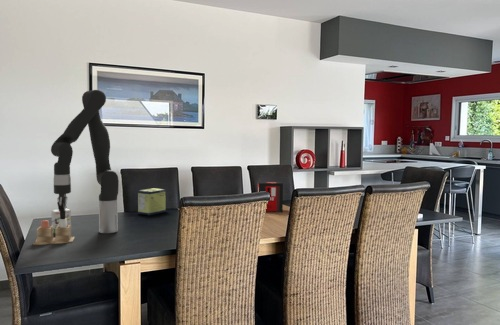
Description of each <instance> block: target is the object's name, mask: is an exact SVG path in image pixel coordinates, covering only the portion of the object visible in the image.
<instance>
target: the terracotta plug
mask: <svg viewBox="0 0 500 325" xmlns="http://www.w3.org/2000/svg"><path fill="white" fill-rule="evenodd" d="M49 226H50V222H49V219H48V220H47V219H44V220H41V221H40V227H41V229H48V228H49Z"/></svg>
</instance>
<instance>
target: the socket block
mask: <svg viewBox="0 0 500 325" xmlns="http://www.w3.org/2000/svg"><path fill="white" fill-rule="evenodd" d="M54 235H55V237H54ZM75 239H76V237H75V236H72V224H71V225H67V228H60V226H57V227H56V228H55V233H53V226H52V225H49V228H48V229H41V226H38V228H37V229H36V240H35V241H34V242H33V243H32V246H39V245H40V246H42V245H54V244H55V245H57V244H73V242H74V240H75Z"/></svg>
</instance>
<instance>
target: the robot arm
mask: <svg viewBox="0 0 500 325" xmlns="http://www.w3.org/2000/svg"><path fill="white" fill-rule="evenodd" d="M81 98H82V99H81V103H82V106H83V109H82V110H81V111H80V112H79V113H78V114H77V115H76V116H74V118H73V119H71V121H70V122H69V123H68V125H67V127H66V128H65V130H64V131H63V133H62V134H61V135H60V136H59V137H58V138H56V140H55V141H54V142H53V143H52V145H51V147H50V152H51V154H52V155H53V156H54V157H58V158H57V162H55V163H54V165H53V194H54V195H58V197H57V207H58V209H59V211H60V219H65V218H66V213H65V211H66V209H68V208H67V206H68V199H69V198H68V196H67V195H68V194H70V193H71V192H72V184H71V181H72V180H71V163H72V158H73V154H74V151H73V147H72V145H71V144H73V143H76V142H77V141H78V139H79V138H80V136H81V135H82V133H83V131H84V130H85V128H86V127H88V131H89V137H90V143H91V149H92V152H93V153H92V154H93V158H94V163H95V173H96V174H95V175H96V181H97V183H98V184H99V185H100V193H99V194H98V230H99V234H100V233H101V234H113V233H117V232H119V231H118V230H119V227H118V226H119V225H118V224H119V222H118V220H119V219H118V215H119V214H118V195H119V182H120V181H119V176H118V174H117V172H115V171H114V170H112V167H111V163H110V151H111V141H110V140H111V139H110V135H109V134H110V133H109V130H108V129H107V127H106V124H104V122H103V120H102V119H101V114H100V110H101V109H102V108H103V106H105V104H106V101H107V96H106V94H105V93H104V92H103V91H102V90H100V89H92V90H87V91H85V92H84V93H83V94H82V96H81ZM87 125H88V126H87ZM58 209H57V210H58Z"/></svg>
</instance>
